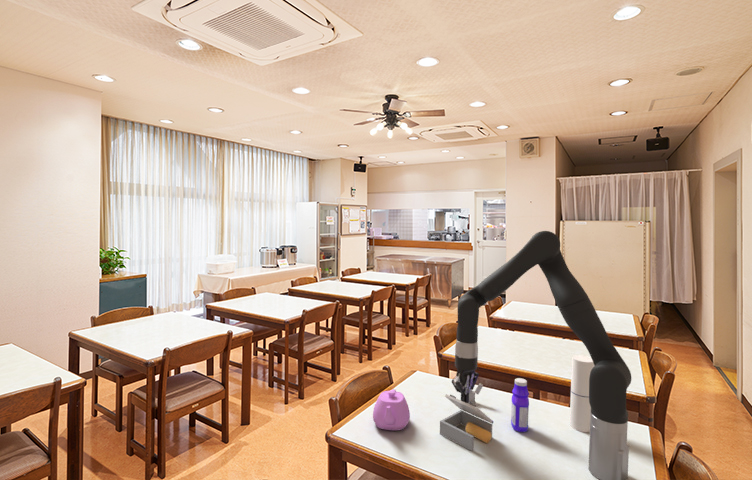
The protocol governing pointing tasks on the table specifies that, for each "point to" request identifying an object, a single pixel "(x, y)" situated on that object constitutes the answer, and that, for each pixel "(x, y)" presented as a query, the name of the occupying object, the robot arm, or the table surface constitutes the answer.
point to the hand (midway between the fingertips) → (464, 403)
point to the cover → (469, 408)
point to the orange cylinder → (478, 432)
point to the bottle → (520, 406)
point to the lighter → (472, 393)
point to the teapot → (391, 411)
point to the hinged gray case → (457, 434)
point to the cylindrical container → (580, 393)
